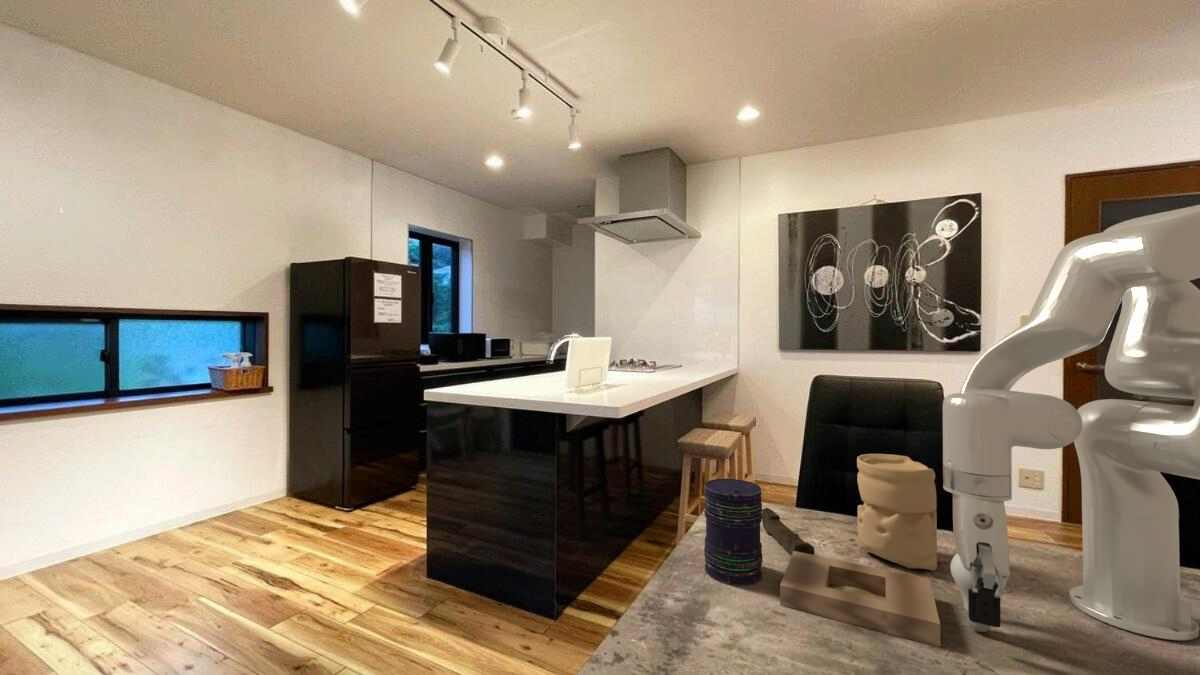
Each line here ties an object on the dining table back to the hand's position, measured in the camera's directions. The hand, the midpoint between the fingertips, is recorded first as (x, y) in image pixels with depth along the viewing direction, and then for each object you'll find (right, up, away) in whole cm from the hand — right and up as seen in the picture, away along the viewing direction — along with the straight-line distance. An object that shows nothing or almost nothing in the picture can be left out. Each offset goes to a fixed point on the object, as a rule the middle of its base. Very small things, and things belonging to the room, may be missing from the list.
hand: (977, 605), depth 65 cm
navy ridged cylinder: (-29, -4, +17) cm, 34 cm away
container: (+3, -4, +23) cm, 23 cm away
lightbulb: (0, -4, 0) cm, 4 cm away
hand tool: (-16, -4, +29) cm, 34 cm away
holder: (-13, -4, +8) cm, 15 cm away
